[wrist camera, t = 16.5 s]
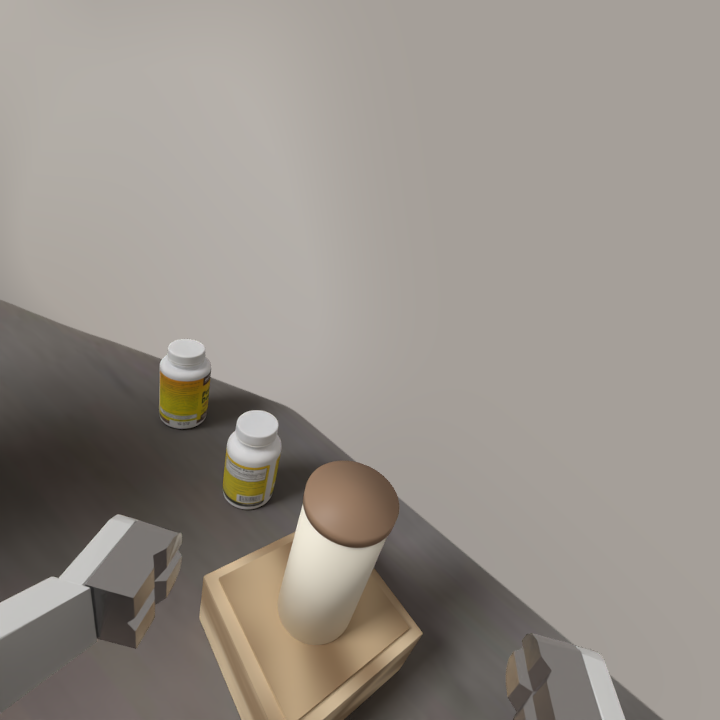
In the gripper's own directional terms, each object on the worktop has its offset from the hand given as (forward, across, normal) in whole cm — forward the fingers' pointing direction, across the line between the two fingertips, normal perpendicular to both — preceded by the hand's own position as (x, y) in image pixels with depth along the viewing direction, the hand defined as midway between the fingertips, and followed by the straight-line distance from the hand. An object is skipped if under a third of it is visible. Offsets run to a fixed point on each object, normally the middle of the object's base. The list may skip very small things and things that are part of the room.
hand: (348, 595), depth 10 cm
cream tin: (+13, 0, -21) cm, 25 cm away
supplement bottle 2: (+26, -10, -27) cm, 39 cm away
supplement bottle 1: (+34, -22, -26) cm, 48 cm away
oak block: (+13, 0, -28) cm, 31 cm away
